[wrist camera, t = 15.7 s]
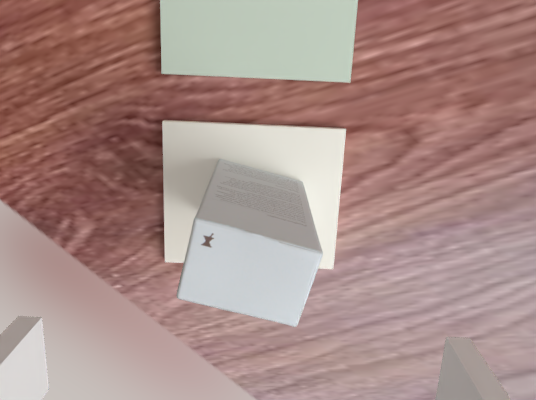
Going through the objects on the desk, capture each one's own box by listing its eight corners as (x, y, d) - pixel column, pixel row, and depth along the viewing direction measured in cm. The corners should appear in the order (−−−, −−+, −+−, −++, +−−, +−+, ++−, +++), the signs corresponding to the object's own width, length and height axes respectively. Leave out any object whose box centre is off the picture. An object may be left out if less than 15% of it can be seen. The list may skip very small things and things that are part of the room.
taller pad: (344, 128, 33) (346, 129, 32) (332, 265, 36) (333, 269, 35) (164, 119, 33) (162, 121, 32) (166, 258, 36) (164, 262, 35)
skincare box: (203, 215, 34) (170, 299, 23) (218, 156, 33) (192, 214, 21) (288, 237, 34) (297, 331, 23) (306, 180, 33) (325, 250, 22)
